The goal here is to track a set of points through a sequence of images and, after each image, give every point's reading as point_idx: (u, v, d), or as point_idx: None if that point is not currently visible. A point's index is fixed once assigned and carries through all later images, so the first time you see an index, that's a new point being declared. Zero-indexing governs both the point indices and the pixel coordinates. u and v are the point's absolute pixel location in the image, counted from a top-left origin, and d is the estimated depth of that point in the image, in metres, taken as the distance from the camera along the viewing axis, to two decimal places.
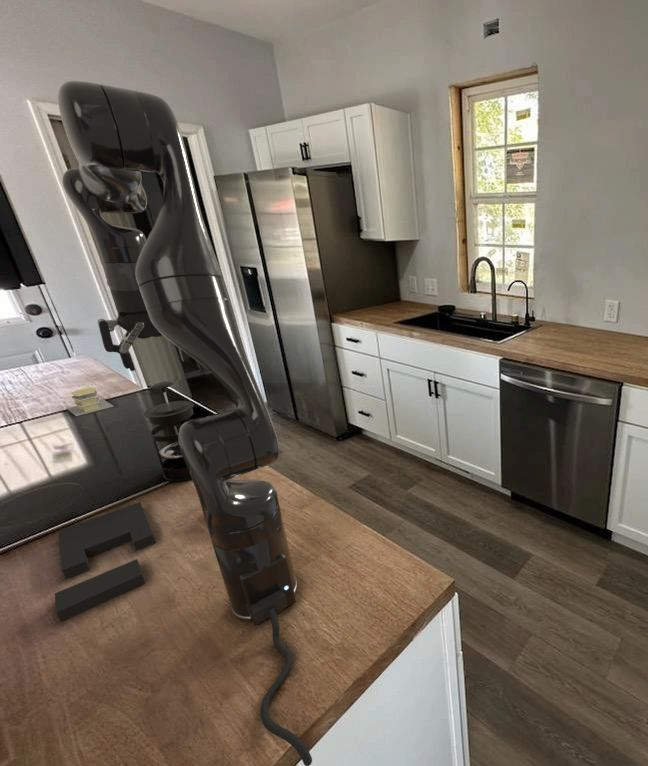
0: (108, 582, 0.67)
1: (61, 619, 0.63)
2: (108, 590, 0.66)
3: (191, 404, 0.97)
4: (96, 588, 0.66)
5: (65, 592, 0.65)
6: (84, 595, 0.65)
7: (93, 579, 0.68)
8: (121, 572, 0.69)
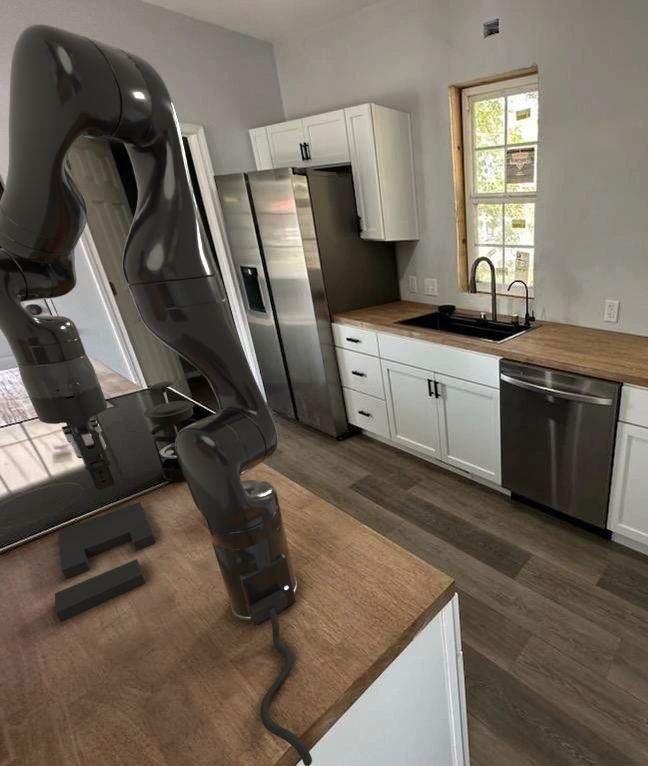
0: (108, 582, 0.67)
1: (61, 619, 0.63)
2: (108, 590, 0.66)
3: (191, 404, 0.97)
4: (96, 588, 0.66)
5: (65, 592, 0.65)
6: (84, 595, 0.65)
7: (93, 579, 0.68)
8: (121, 572, 0.69)
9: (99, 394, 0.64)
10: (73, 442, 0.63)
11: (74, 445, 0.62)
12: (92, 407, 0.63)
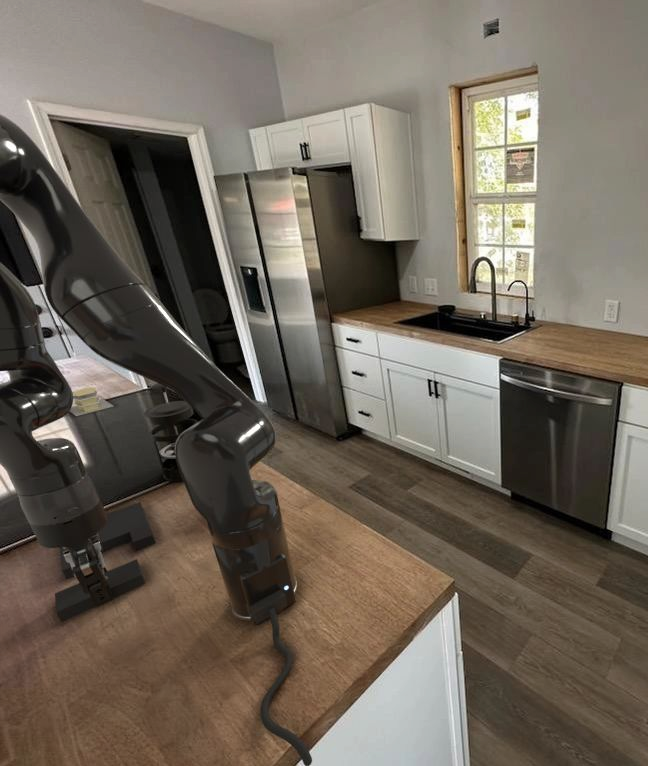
0: (108, 582, 0.67)
1: (61, 619, 0.63)
2: None
3: None
4: None
5: (65, 592, 0.65)
6: (84, 595, 0.65)
7: None
8: (121, 572, 0.69)
9: (99, 512, 0.63)
10: (72, 564, 0.62)
11: (73, 567, 0.62)
12: (91, 528, 0.62)
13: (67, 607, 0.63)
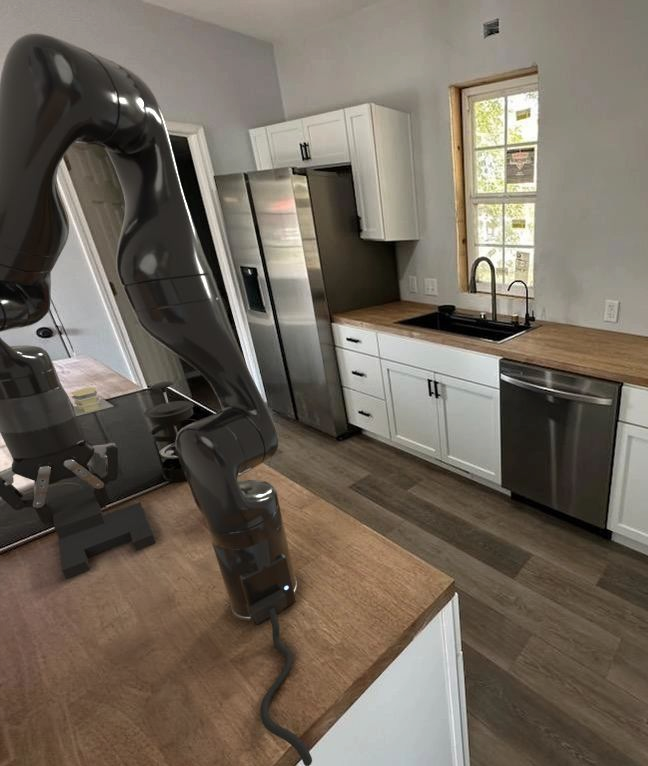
0: (81, 500, 0.66)
1: None
2: None
3: (191, 404, 0.97)
4: (83, 504, 0.65)
5: (63, 521, 0.62)
6: (87, 507, 0.65)
7: (59, 512, 0.63)
8: (68, 499, 0.66)
9: None
10: (82, 466, 0.63)
11: (84, 468, 0.63)
12: None
13: (99, 509, 0.64)
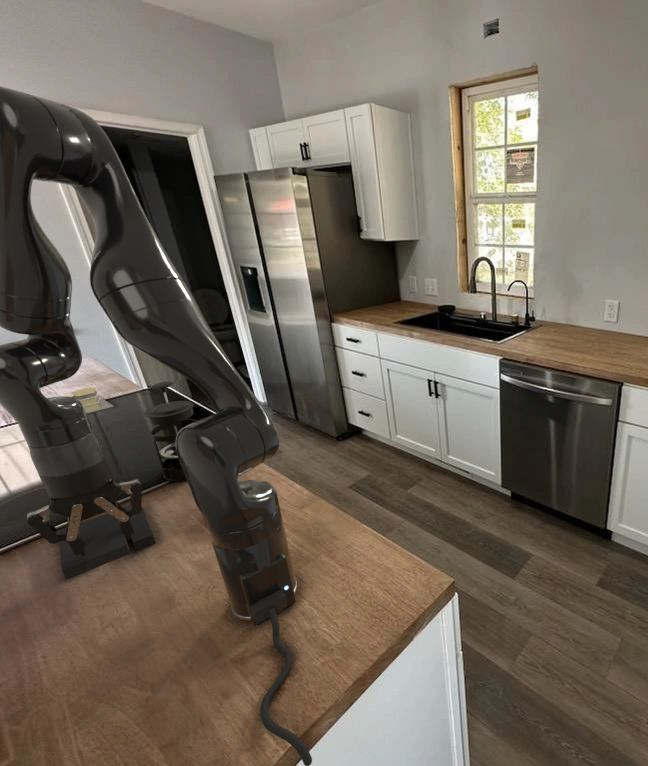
0: (108, 532, 0.72)
1: (129, 551, 0.70)
2: None
3: (191, 404, 0.97)
4: (111, 535, 0.72)
5: (93, 553, 0.68)
6: (114, 539, 0.71)
7: (89, 544, 0.70)
8: (97, 531, 0.72)
9: None
10: (110, 502, 0.69)
11: (112, 504, 0.70)
12: None
13: (125, 541, 0.70)
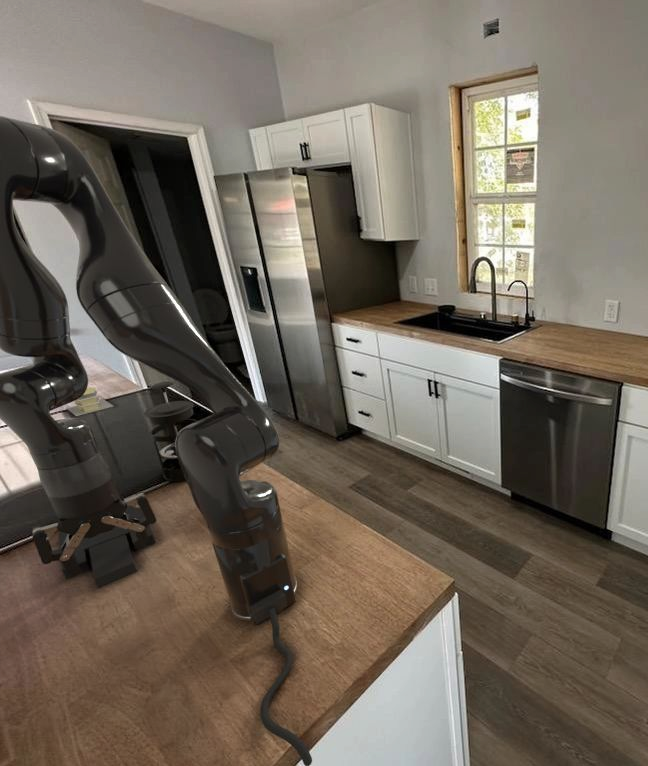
0: (115, 550, 0.74)
1: (136, 569, 0.72)
2: (129, 546, 0.75)
3: (191, 404, 0.97)
4: (118, 553, 0.73)
5: (101, 572, 0.69)
6: (121, 556, 0.72)
7: (96, 562, 0.71)
8: (104, 549, 0.74)
9: None
10: (118, 518, 0.71)
11: (121, 519, 0.71)
12: None
13: (132, 559, 0.72)
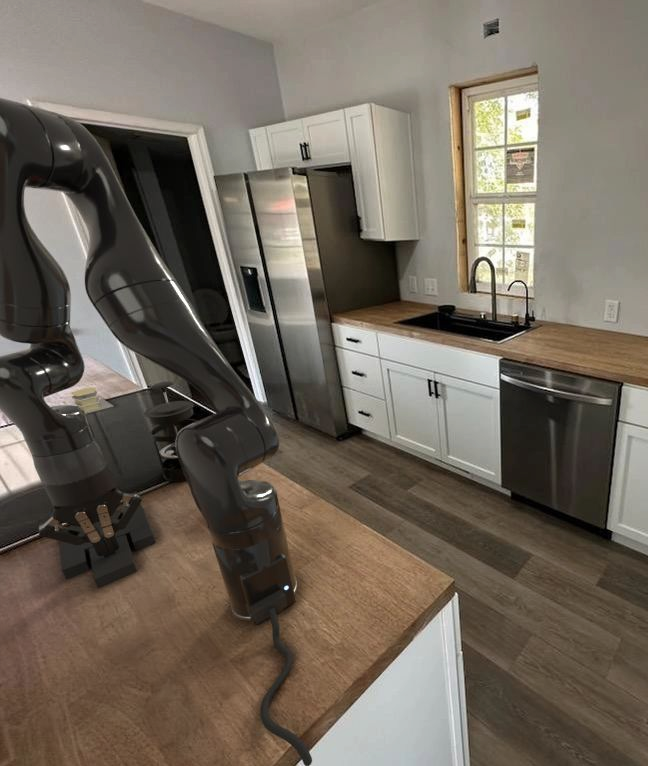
0: (115, 550, 0.74)
1: (136, 569, 0.72)
2: (128, 546, 0.75)
3: (191, 404, 0.97)
4: (118, 553, 0.73)
5: (101, 572, 0.69)
6: (121, 557, 0.72)
7: (96, 562, 0.71)
8: None
9: None
10: (108, 513, 0.70)
11: (109, 515, 0.70)
12: None
13: (132, 559, 0.72)
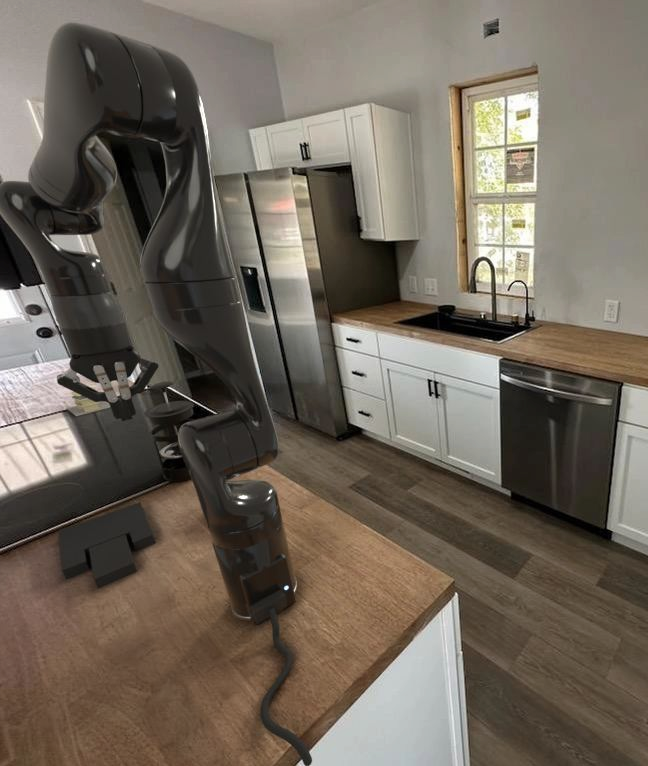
0: (115, 550, 0.74)
1: (136, 569, 0.72)
2: (129, 546, 0.75)
3: (191, 404, 0.97)
4: (118, 553, 0.73)
5: (101, 572, 0.69)
6: (121, 557, 0.72)
7: (96, 562, 0.71)
8: (104, 549, 0.74)
9: None
10: (126, 372, 0.69)
11: (126, 375, 0.69)
12: None
13: (132, 559, 0.72)
